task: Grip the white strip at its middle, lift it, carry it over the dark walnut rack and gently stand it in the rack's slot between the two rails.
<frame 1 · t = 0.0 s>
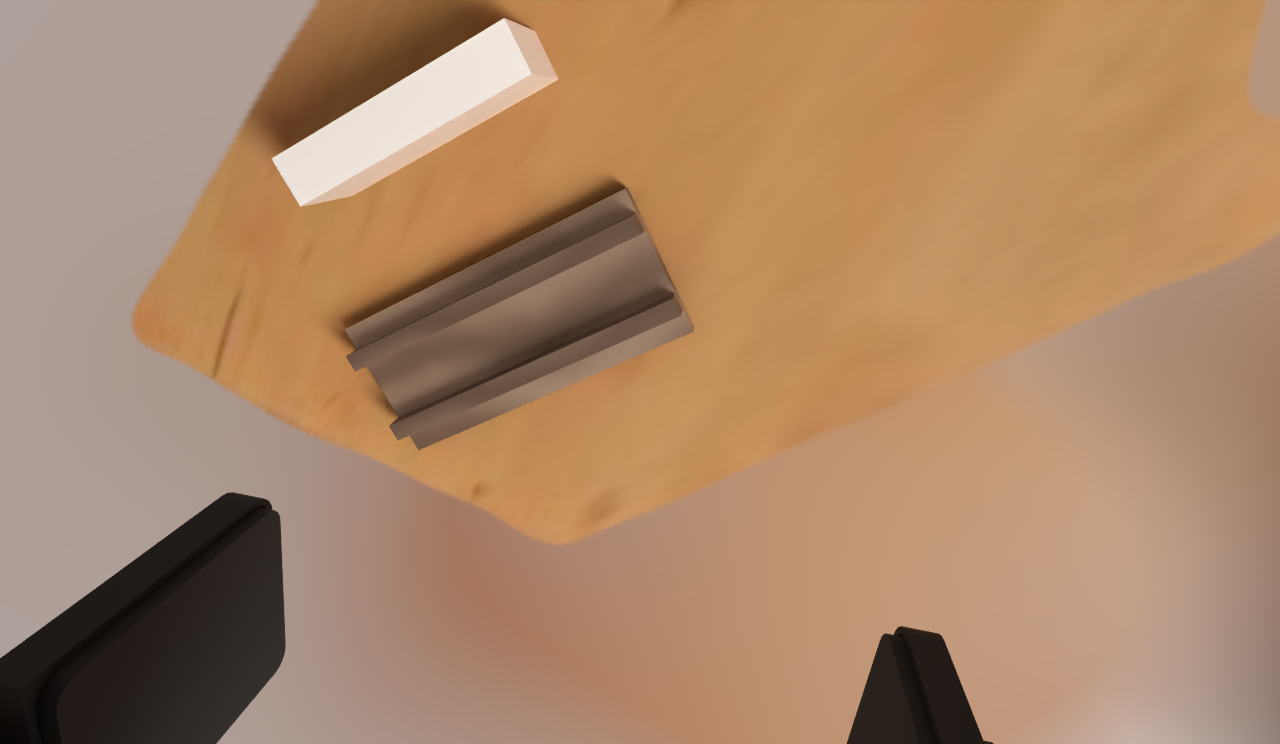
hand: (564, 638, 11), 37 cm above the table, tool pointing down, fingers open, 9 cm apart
walnut rack: (517, 326, 49), on the table
white strip: (438, 117, 45), on the table
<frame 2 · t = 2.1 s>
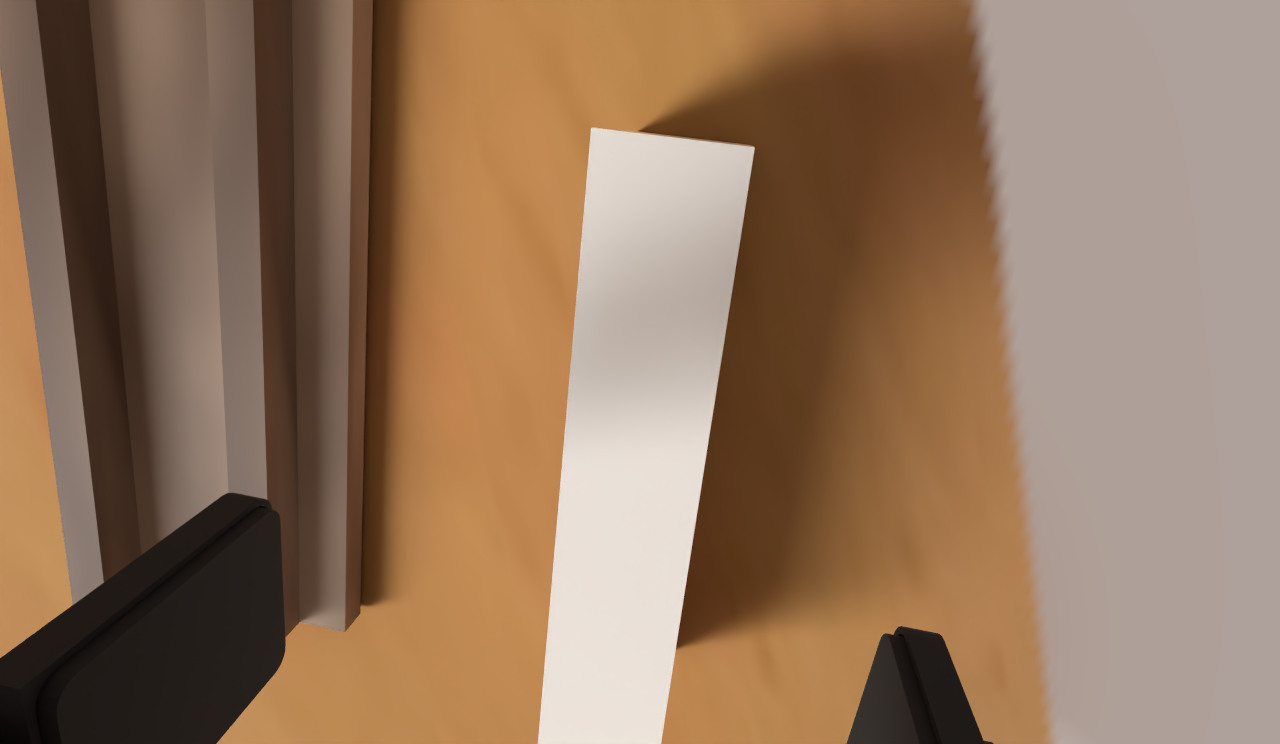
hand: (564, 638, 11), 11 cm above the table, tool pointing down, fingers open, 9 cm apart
walnut rack: (208, 276, 22), on the table
white strip: (657, 420, 21), on the table
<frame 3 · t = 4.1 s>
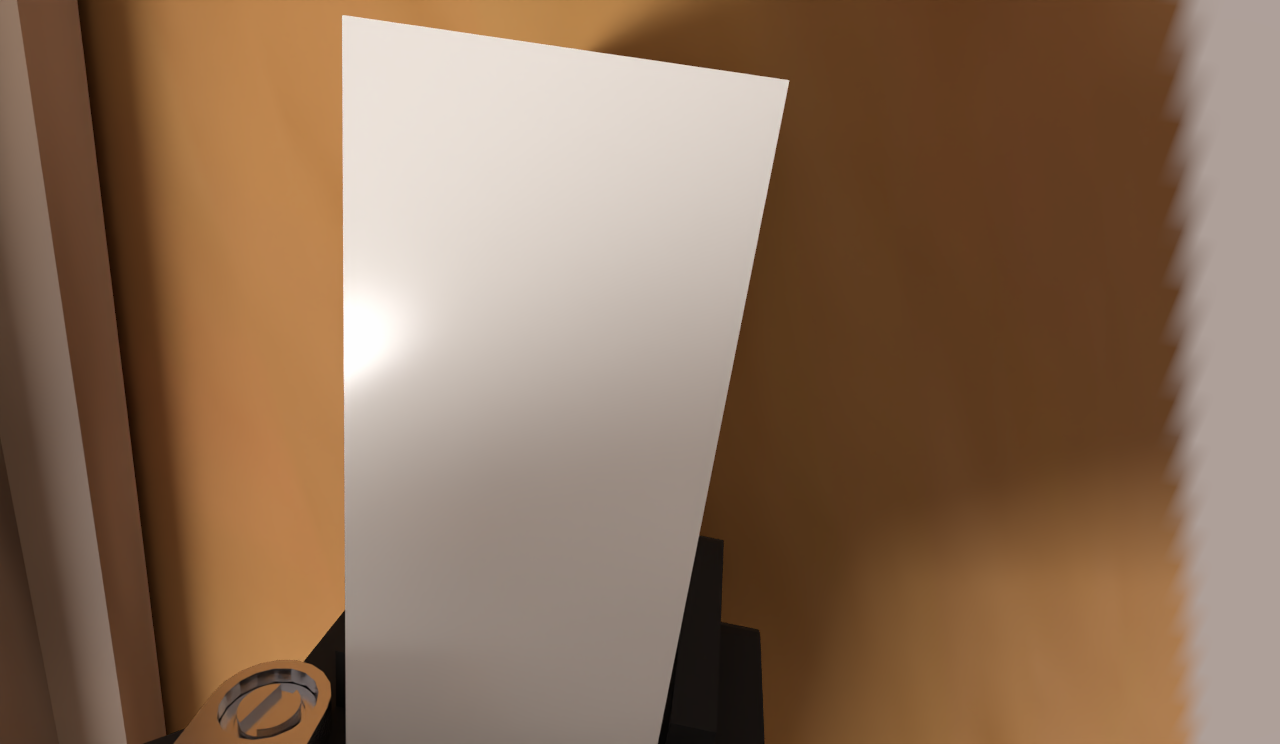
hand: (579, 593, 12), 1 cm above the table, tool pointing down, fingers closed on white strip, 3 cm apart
white strip: (593, 552, 13), on the table, touching gripper
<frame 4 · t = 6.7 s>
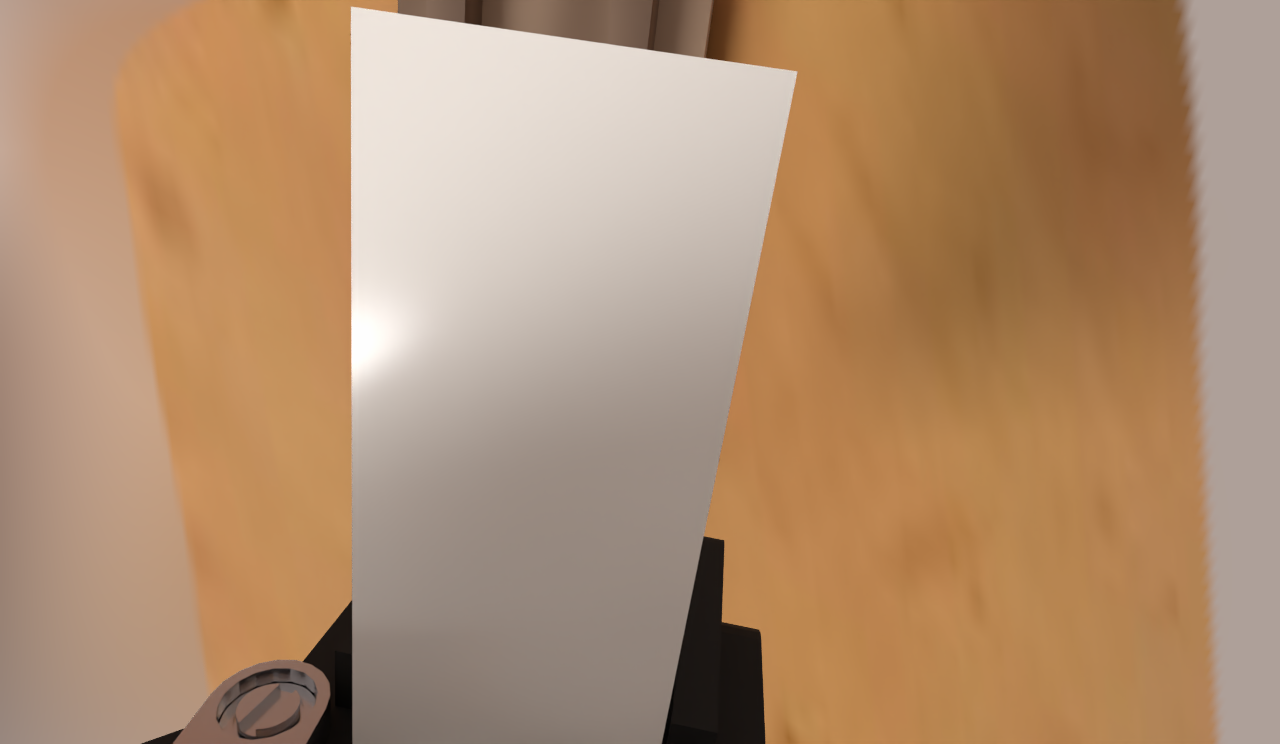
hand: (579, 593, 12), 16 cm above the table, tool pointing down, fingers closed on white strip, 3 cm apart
walnut rack: (536, 300, 27), on the table
white strip: (596, 547, 13), point 14 cm above the table, touching gripper
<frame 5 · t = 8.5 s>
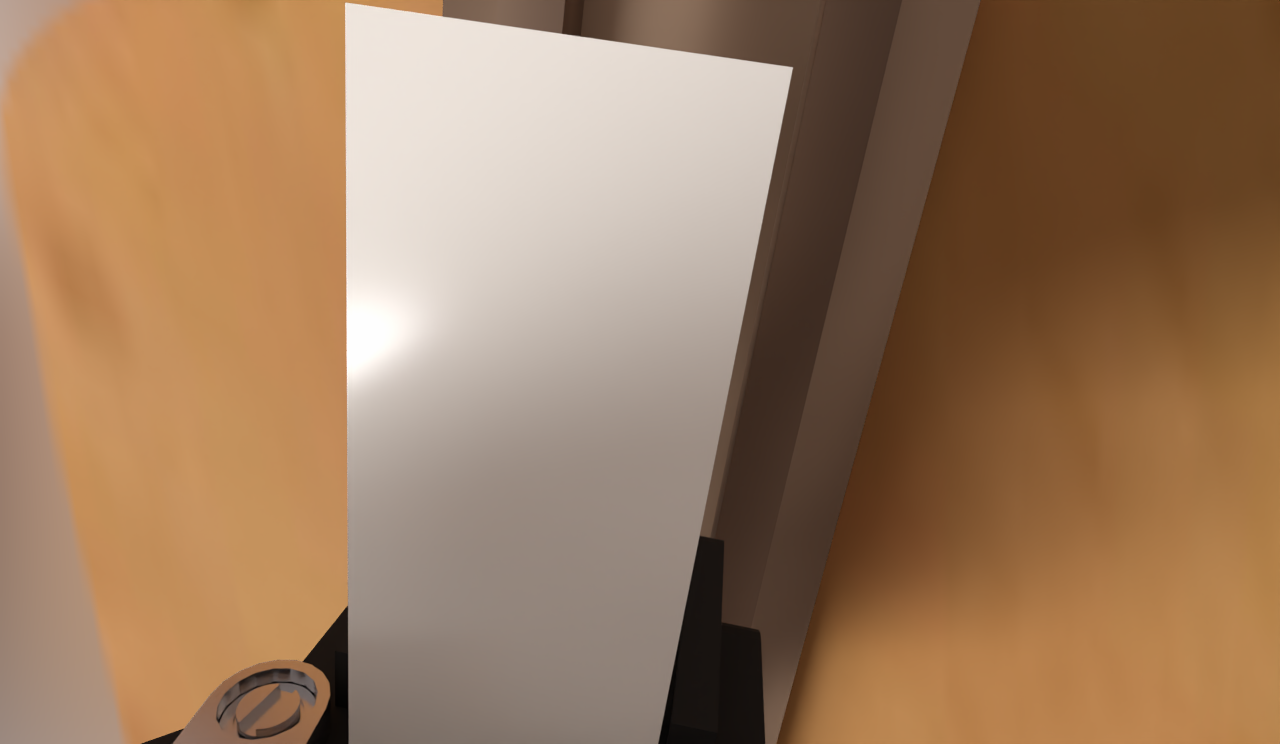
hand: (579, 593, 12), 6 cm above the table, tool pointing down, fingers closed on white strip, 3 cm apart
walnut rack: (635, 442, 18), on the table
white strip: (594, 546, 13), point 5 cm above the table, touching gripper
when the fingers open (3 cm above the table, at t = 9.6 s): white strip drops 1 cm, resting on walnut rack.
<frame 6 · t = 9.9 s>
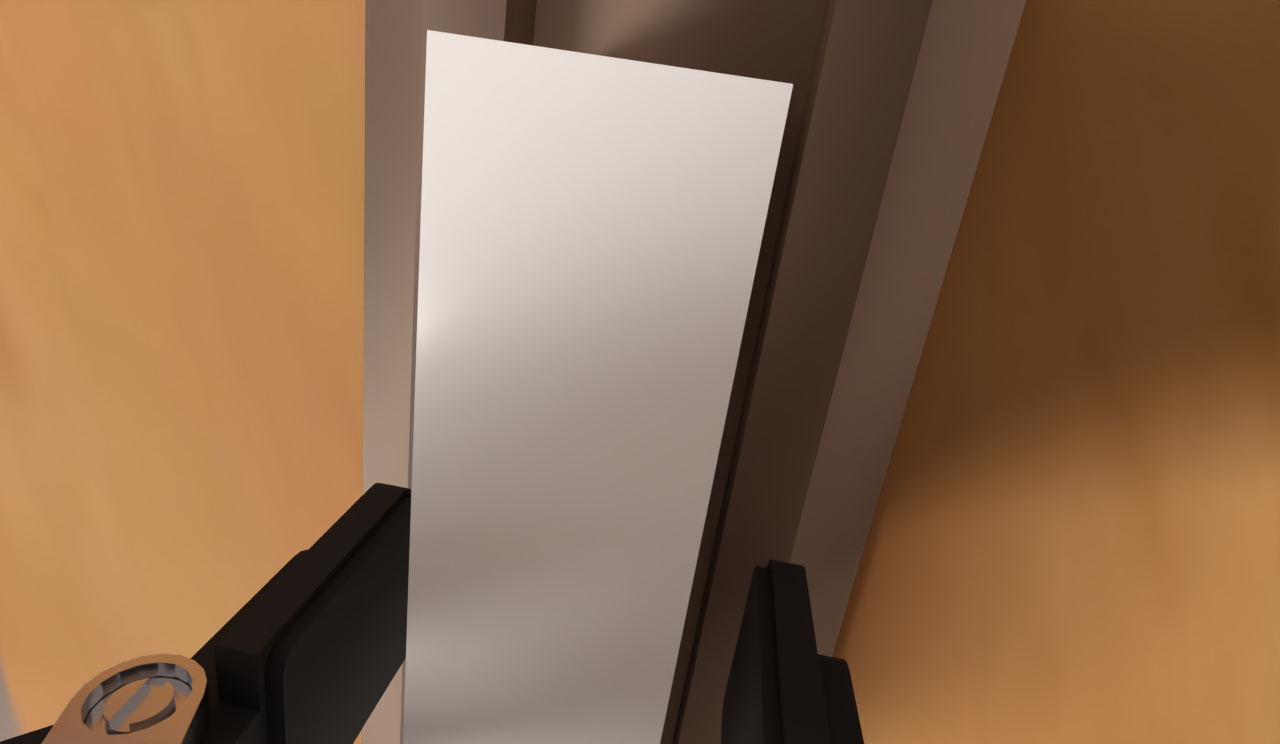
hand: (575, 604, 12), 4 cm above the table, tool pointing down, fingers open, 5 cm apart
walnut rack: (612, 492, 15), on the table
white strip: (608, 518, 14), point 1 cm above the table, touching walnut rack
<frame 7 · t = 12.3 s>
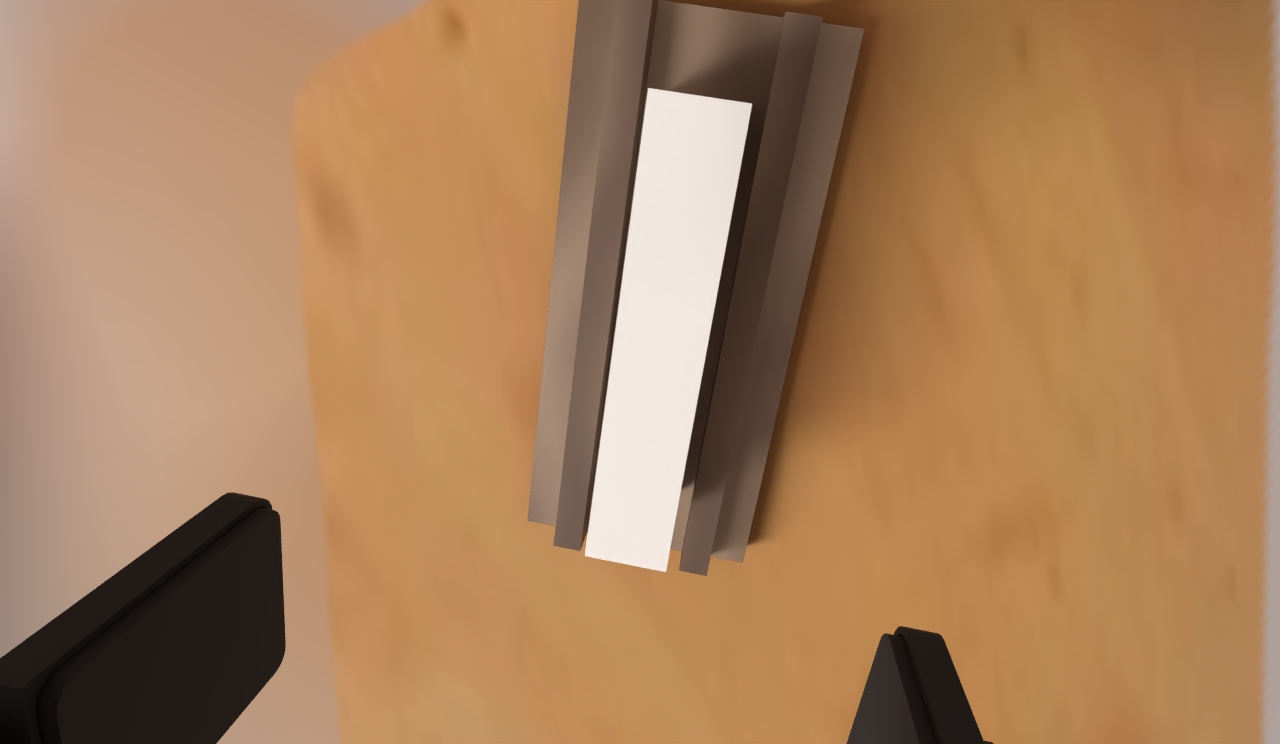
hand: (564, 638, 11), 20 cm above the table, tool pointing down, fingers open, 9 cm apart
walnut rack: (673, 304, 30), on the table
white strip: (673, 310, 29), point 1 cm above the table, touching walnut rack
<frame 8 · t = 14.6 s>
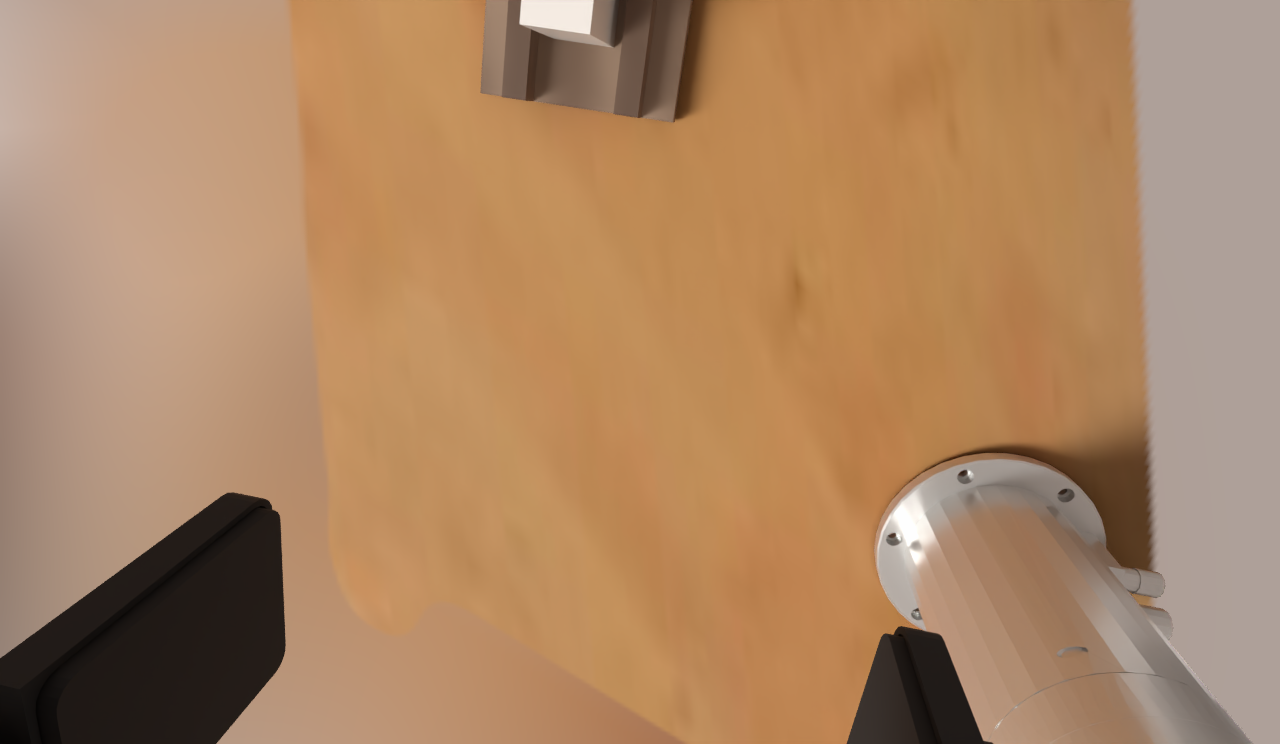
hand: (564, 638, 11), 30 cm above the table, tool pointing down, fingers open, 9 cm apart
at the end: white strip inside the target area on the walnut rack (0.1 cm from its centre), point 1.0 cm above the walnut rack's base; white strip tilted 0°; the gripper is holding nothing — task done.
